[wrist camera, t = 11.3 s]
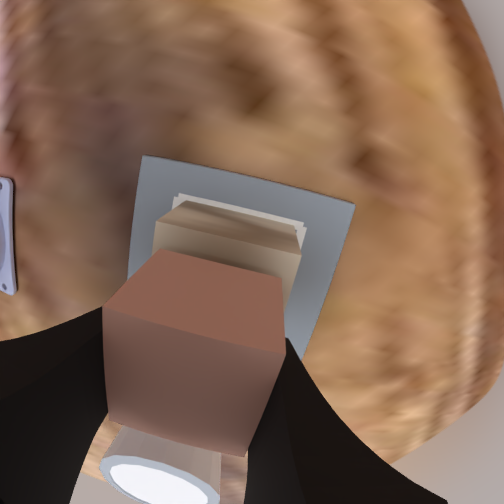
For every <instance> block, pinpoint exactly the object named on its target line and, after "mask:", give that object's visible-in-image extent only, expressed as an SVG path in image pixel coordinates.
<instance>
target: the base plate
mask: <svg viewBox="0 0 504 504" xmlns="http://www.w3.org/2000/svg"><path fill="white" fill-rule="evenodd" d="M186 200H188V201H192V202H197V203H201V204H206V205H210V206H215V207H219V208H223V209H228V210H232V211H236V212H241V213H245V214H249V215H253V216H257V217H261V218H266V219H270V220H274V221H278V222H282V223H286V224H290V225H294V227H295V231H296V235H297V239H298V243H299V247H300V251H301V255H302V257H301V260H300V263H299V266H298V270H297V273H296V276H295V280H294V283H293V286H292V289H291V292H290V296H289V299H288V302H287V305H286V308H285V311H284V327H285V337H286V338H289V340H290V342H291V343H292V345H293V347H294V349H295V351H296V353H297V354H298V356H299V358H300V360H302V357H303V355H304V353H305V350H306V348H307V345H308V343H309V340H310V337H311V335H312V332H313V330H314V327H315V324H316V322H317V319H318V317H319V314H320V311H321V308H322V306H323V303H324V300H325V297H326V295H327V292H328V289H329V286H330V283H331V281H332V278H333V275H334V272H335V269H336V266H337V263H338V260H339V257H340V254H341V251H342V248H343V245H344V242H345V239H346V235H347V232H348V229H349V226H350V223H351V219H352V216H353V213H354V209H355V206H356V205H355V204H354V203H352V202H348V201H345V200H341V199H338V198H334V197H331V196H327V195H324V194H320V193H316V192H313V191H309V190H305V189H301V188H297V187H294V186H290V185H286V184H282V183H278V182H274V181H270V180H266V179H262V178H257V177H253V176H249V175H245V174H240V173H236V172H231V171H227V170H222V169H218V168H213V167H208V166H203V165H198V164H193V163H188V162H183V161H178V160H173V159H167V158H162V157H156V156H151V155H143V156H142V162H141V168H140V174H139V180H138V187H137V194H136V201H135V208H134V216H133V224H132V233H131V242H130V253H129V264H128V277H127V280H128V279H129V278H130V277H131V276H132V275H133V274H134V273H135V272H136V271H137V270H138V269H139V268H140V267H141V266H142V265H143V264H144V263H145V262H146V261H147V260H148V259H149V258H150V257H151V256H152V247H153V239H154V232H155V224H156V221H157V220H158V219H160V218H161V217H162V216H164V215H165V214H167V213H168V212H170V211H171V210H172V209H174V208H175V207H177V206H178V205H180V204H181V203H183V202H184V201H186Z"/></svg>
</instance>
